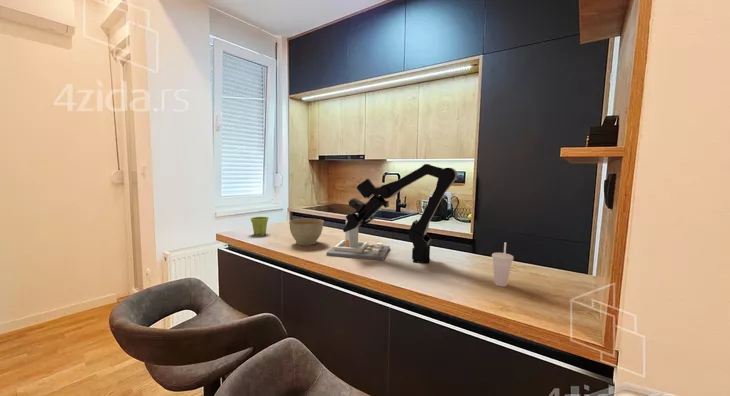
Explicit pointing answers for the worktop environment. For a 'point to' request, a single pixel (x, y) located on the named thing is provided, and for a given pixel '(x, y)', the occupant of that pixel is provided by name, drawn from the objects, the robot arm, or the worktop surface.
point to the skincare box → (351, 238)
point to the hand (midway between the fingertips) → (348, 229)
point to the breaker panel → (360, 251)
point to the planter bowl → (306, 230)
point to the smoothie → (502, 267)
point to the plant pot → (259, 225)
